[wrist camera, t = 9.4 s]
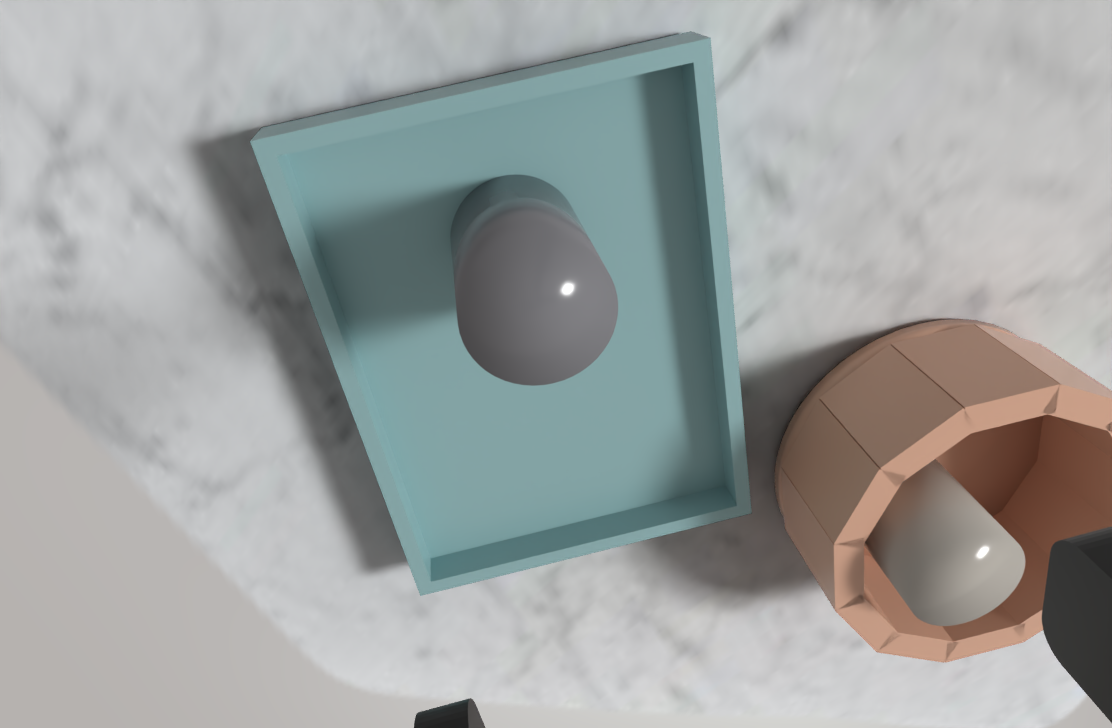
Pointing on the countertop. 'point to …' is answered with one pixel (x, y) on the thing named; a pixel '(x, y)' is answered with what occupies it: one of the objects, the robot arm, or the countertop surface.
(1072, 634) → the robot arm
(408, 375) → the tray
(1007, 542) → the beige rounded cylinder
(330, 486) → the countertop surface
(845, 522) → the bowl
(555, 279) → the grey rounded cylinder
